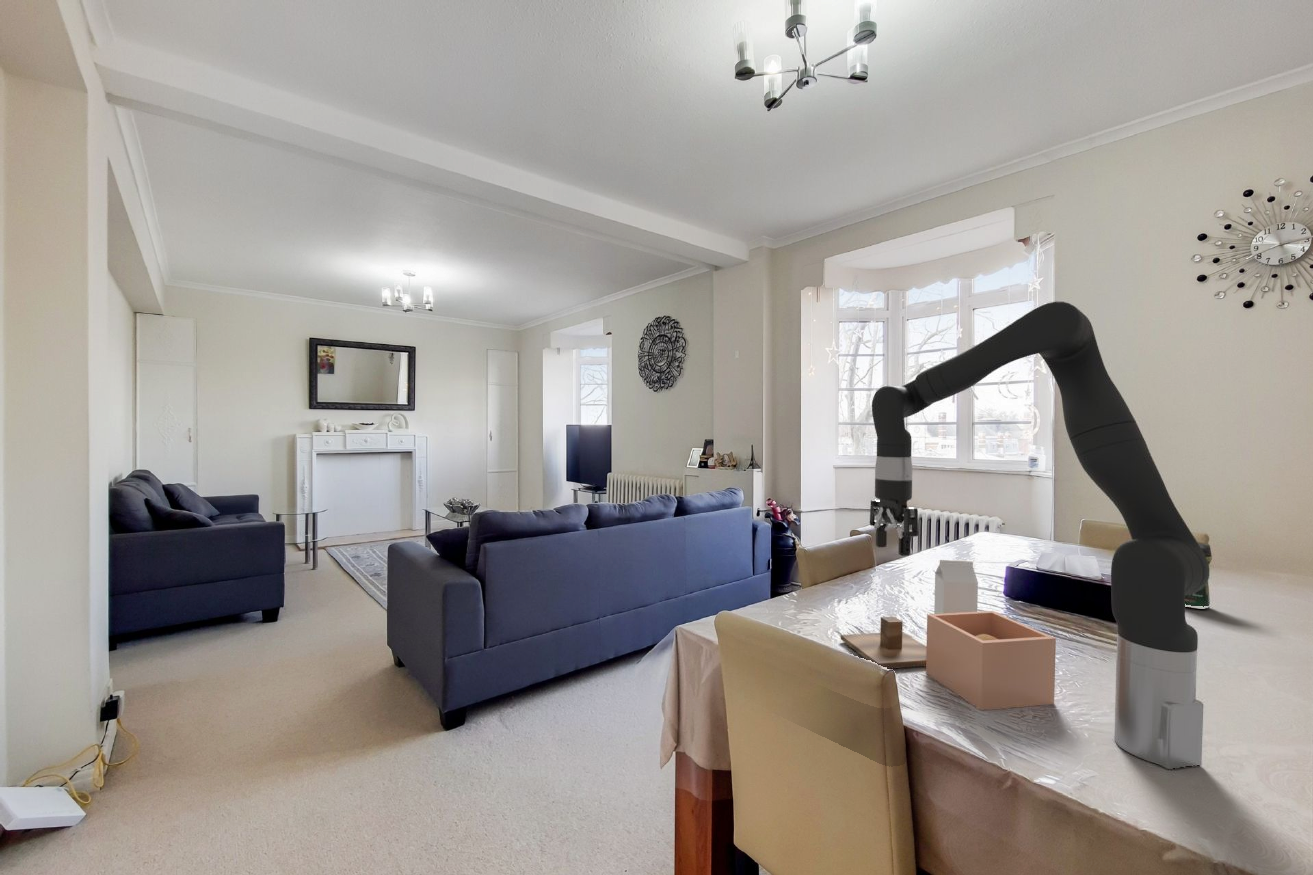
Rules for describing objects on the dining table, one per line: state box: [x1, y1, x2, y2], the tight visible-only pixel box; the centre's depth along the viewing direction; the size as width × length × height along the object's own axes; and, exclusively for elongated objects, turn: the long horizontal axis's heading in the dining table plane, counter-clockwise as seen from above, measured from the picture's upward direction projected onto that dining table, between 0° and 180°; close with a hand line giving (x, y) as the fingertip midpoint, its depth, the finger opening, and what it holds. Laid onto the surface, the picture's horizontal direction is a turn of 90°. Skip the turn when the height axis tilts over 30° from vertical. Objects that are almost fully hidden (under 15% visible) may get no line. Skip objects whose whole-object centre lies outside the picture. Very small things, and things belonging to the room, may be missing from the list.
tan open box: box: [925, 610, 1057, 711], centre depth 107 cm, size 15×15×12 cm
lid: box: [840, 616, 927, 669], centre depth 122 cm, size 16×16×7 cm
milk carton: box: [933, 559, 979, 614], centre depth 129 cm, size 7×7×19 cm
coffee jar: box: [1185, 541, 1213, 607], centre depth 158 cm, size 10×8×19 cm
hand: (892, 550), depth 122 cm, fingers open, 8 cm apart
